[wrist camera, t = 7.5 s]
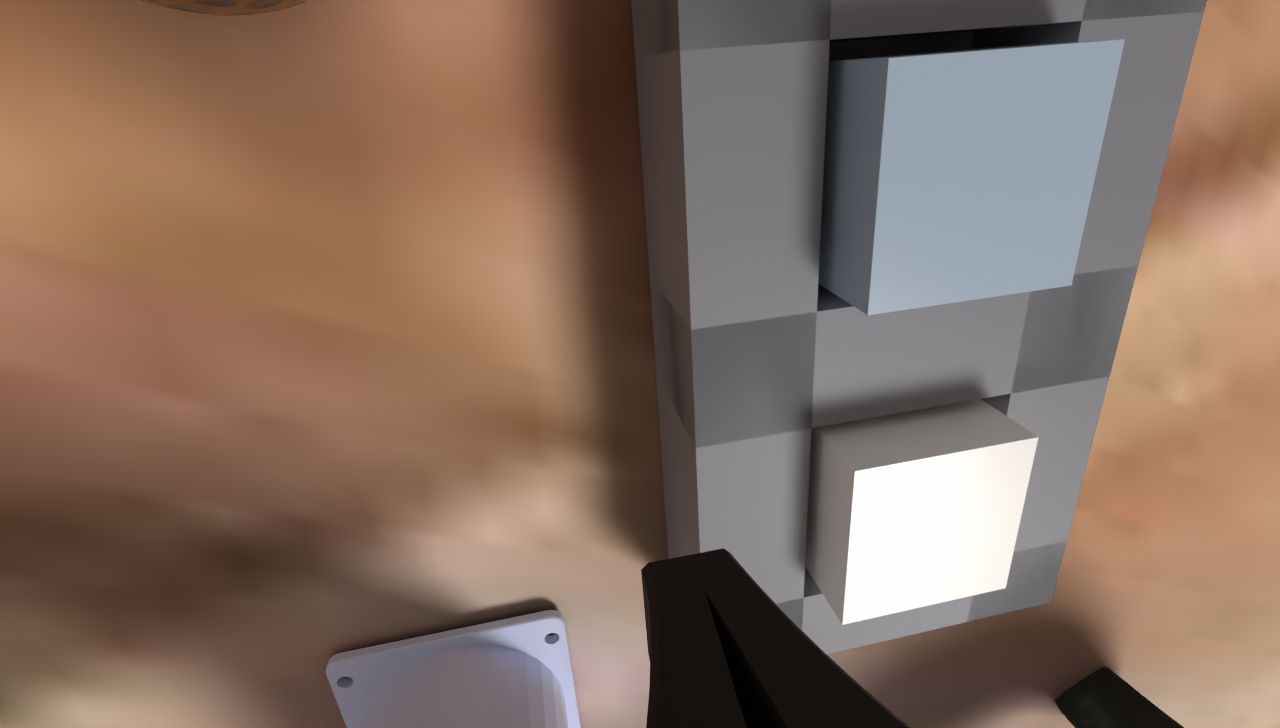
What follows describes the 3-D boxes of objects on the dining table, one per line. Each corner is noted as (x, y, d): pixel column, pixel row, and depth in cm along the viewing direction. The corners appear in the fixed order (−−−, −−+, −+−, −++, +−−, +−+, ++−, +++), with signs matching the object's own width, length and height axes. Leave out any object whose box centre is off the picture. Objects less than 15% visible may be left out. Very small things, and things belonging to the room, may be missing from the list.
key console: (963, 520, 26) (1051, 602, 22) (669, 579, 24) (705, 682, 20) (1067, -84, 17) (1241, -132, 13) (626, -64, 15) (673, -113, 11)
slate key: (958, 244, 18) (1071, 285, 15) (791, 266, 17) (868, 315, 14) (985, 47, 16) (1125, 39, 13) (796, 62, 15) (888, 58, 12)
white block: (922, 505, 22) (1005, 588, 18) (783, 532, 21) (842, 624, 18) (940, 372, 20) (1038, 436, 16) (787, 397, 19) (854, 471, 16)
